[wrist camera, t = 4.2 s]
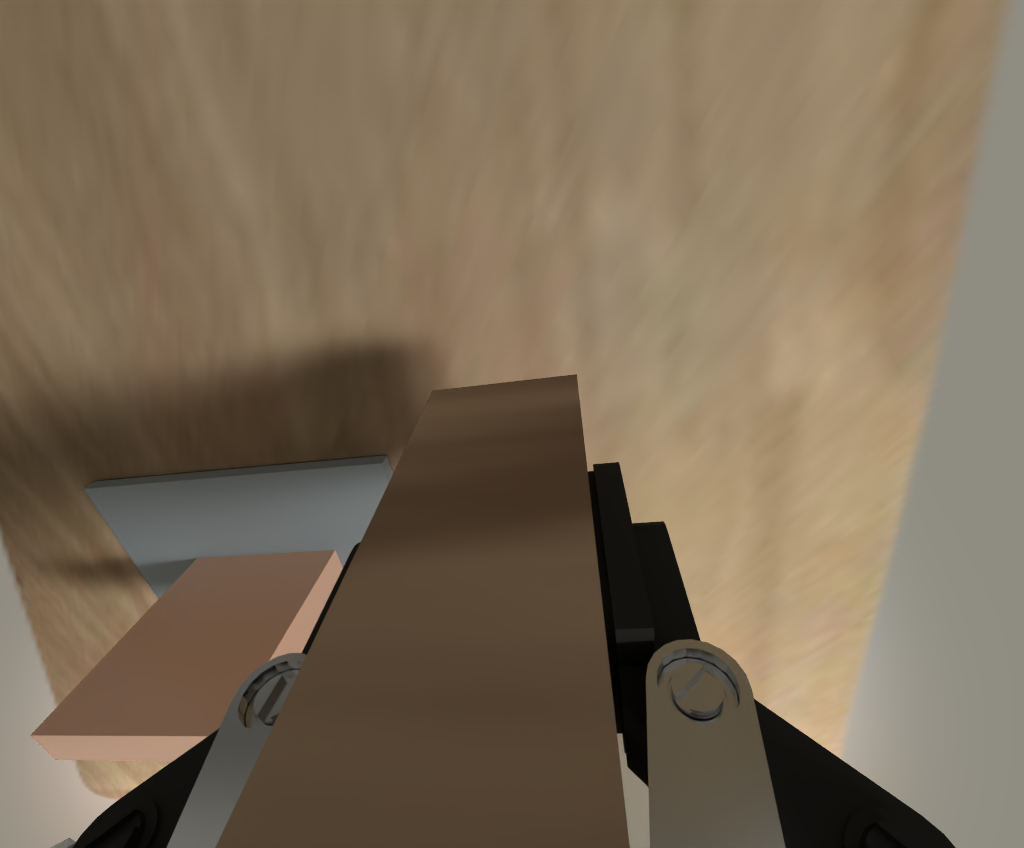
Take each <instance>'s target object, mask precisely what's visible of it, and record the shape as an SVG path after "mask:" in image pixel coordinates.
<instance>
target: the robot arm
mask: <svg viewBox="0 0 1024 848" xmlns="http://www.w3.org/2000/svg"><path fill="white" fill-rule="evenodd" d="M593 468H594V471H589V472H588V480H589V489H590V498H591V507H592V516H593V525H594V534H595V543H596V552H597V560H598V569H599V578H600V587H601V596H602V605H603V614H604V623H605V632H606V640H607V649H608V658H609V667H610V676H611V685H612V694H613V703H614V712H615V720H616V729H617V734H622V736H623V745H624V753H626V759H627V767H628V768H629V769H630V770H631V771H632V772H633V773H634V774H635V775H636V776H637V777H638V778H639V779H640V780H641V781H642V782H643V783H644V784H645V785H646V786H647V787H649V828H650V848H955V847H954V845H953V844H952V843H951V842H950V841H949V839H948V838H947V837H946V836H945V835H944V834H943V833H942V832H941V831H939V830H938V829H937V828H936V827H935V826H934V825H932V824H931V823H930V822H929V821H928V820H926V819H925V818H924V817H923V816H921V815H920V814H919V813H917V812H916V811H914V810H913V809H912V808H910V807H909V806H907V805H906V804H904V803H903V802H901V801H900V800H898V799H897V798H896V797H894V796H893V795H891V794H890V793H889V792H887V791H886V790H884V789H883V788H881V787H880V786H878V785H877V784H875V783H874V782H873V781H871V780H870V779H868V778H867V777H866V776H864V775H863V774H861V773H860V772H858V771H857V770H855V769H854V768H853V767H851V766H850V765H848V764H847V763H845V762H844V761H843V760H841V759H840V758H838V757H837V756H835V755H834V754H832V753H831V752H830V751H828V750H827V749H825V748H824V747H822V746H821V745H820V744H818V743H817V742H815V741H814V740H812V739H811V738H809V737H808V736H807V735H805V734H804V733H802V732H801V731H799V730H798V729H797V728H795V727H794V726H792V725H791V724H789V723H788V722H786V721H785V720H784V719H782V718H781V717H779V716H778V715H776V714H775V713H774V712H772V711H771V710H769V709H768V708H766V707H765V706H763V705H762V704H761V703H759V702H758V701H756V700H755V699H754V697H753V693H752V689H751V686H750V684H749V681H748V678H747V676H746V674H745V672H744V671H743V670H742V668H741V667H740V666H739V664H738V663H737V662H736V661H735V660H734V659H733V658H732V657H731V656H729V655H728V654H727V653H726V652H724V651H723V650H722V649H720V648H718V647H715V646H713V645H711V644H709V643H707V642H702V641H700V638H699V634H698V631H697V628H696V624H695V621H694V618H693V614H692V611H691V608H690V604H689V601H688V598H687V594H686V591H685V588H684V584H683V581H682V578H681V574H680V571H679V568H678V564H677V561H676V558H675V554H674V551H673V548H672V544H671V541H670V538H669V534H668V531H667V528H666V525H665V523H664V522H648V523H633V524H632V521H631V516H630V512H629V507H628V502H627V498H626V493H625V488H624V483H623V479H622V474H621V469H620V465H619V462H616V463H604V464H593ZM359 545H360V542H359V543H357V544H356V545H355V546H354V548H353V549H352V551H351V553H350V555H349V557H348V559H347V561H346V563H345V565H344V567H343V569H342V571H341V573H340V575H339V577H338V579H337V581H336V583H335V585H334V587H333V590H332V592H331V594H330V596H329V598H328V600H327V602H326V604H325V606H324V608H323V610H322V612H321V614H320V616H319V618H318V620H317V622H316V624H315V626H314V628H313V630H312V633H311V635H310V637H309V639H308V641H307V643H306V645H305V647H304V649H303V651H302V653H288V654H285V655H281V656H278V657H276V658H274V659H272V660H270V661H268V662H266V663H265V664H263V665H262V666H260V667H259V668H258V669H257V670H255V671H254V672H253V673H252V674H250V676H249V677H248V678H247V679H246V680H245V681H244V682H243V684H242V685H241V686H240V687H239V689H238V691H237V692H236V694H235V696H234V698H233V699H232V701H231V704H230V706H229V708H228V710H227V713H226V715H225V717H224V719H223V722H222V724H221V726H220V728H219V729H217V730H216V731H215V732H213V733H212V734H210V735H209V736H208V737H206V738H205V739H203V740H202V741H201V742H199V743H198V744H196V745H195V746H194V747H192V748H191V749H189V750H188V751H187V752H185V753H184V754H182V755H181V756H180V757H178V758H177V759H175V760H174V761H173V762H171V763H170V764H168V765H167V766H166V767H164V768H163V769H161V770H160V771H159V772H157V773H156V774H154V775H153V776H152V777H150V778H149V779H147V780H146V781H145V782H143V783H142V784H140V785H139V786H138V787H136V788H135V789H133V790H132V791H131V792H129V793H128V794H126V795H125V796H124V797H122V798H121V799H119V800H118V801H117V802H115V803H114V804H113V805H111V806H110V807H109V808H108V809H107V810H105V811H104V812H103V813H102V814H101V815H99V816H98V817H97V818H96V819H95V820H94V821H93V822H92V824H91V825H90V826H89V827H88V828H87V829H86V830H85V831H84V832H83V834H82V835H81V836H80V837H79V839H78V840H77V842H75V841H73V840H72V839H71V838H68V839H66V840H64V841H62V842H61V843H59V844H57V845H55V846H53V847H51V848H215V847H216V845H217V843H218V841H219V839H220V837H221V834H222V832H223V830H224V828H225V826H226V824H227V822H228V820H229V818H230V816H231V813H232V811H233V809H234V807H235V805H236V803H237V801H238V799H239V797H240V795H241V792H242V790H243V788H244V786H245V784H246V782H247V780H248V778H249V776H250V773H251V771H252V769H253V767H254V765H255V763H256V761H257V759H258V757H259V755H260V752H261V750H262V748H263V746H264V744H265V742H266V740H267V738H268V736H269V734H270V731H271V729H272V727H273V725H274V723H275V721H276V719H277V717H278V715H279V713H280V710H281V708H282V706H283V704H284V702H285V700H286V698H287V696H288V694H289V692H290V689H291V687H292V685H293V683H294V681H295V679H296V677H297V675H298V673H299V671H300V668H301V666H302V664H303V662H304V660H305V658H306V656H307V654H308V652H309V650H310V647H311V645H312V643H313V641H314V639H315V637H316V635H317V633H318V631H319V629H320V626H321V624H322V622H323V620H324V618H325V616H326V614H327V612H328V610H329V608H330V605H331V603H332V601H333V599H334V597H335V595H336V593H337V591H338V589H339V587H340V584H341V582H342V580H343V578H344V576H345V574H346V572H347V570H348V568H349V566H350V563H351V561H352V559H353V557H354V555H355V553H356V551H357V549H358V547H359Z"/></svg>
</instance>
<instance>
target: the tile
mask: <svg viewBox="0 0 1024 848" xmlns="http://www.w3.org/2000/svg"><path fill="white" fill-rule="evenodd" d="M342 569H343V567H342V565H341V563H340V560H339V558H338V556H337V553H336V551H335V550H328V551H311V552H294V553H276V554H259V555H242V556H225V557H208V558H197V559H196V560H195V561H194V562H193V563H192V564H191V565H190V567H189V568H188V569H187V570H186V571H185V572H184V573H183V574H182V575H181V576H180V577H179V578H178V579H177V580H176V581H175V582H174V584H173V585H172V586H171V587H170V588H169V589H168V590H167V591H166V592H165V593H164V594H163V595H162V596H161V597H160V598H159V599H158V600H157V602H156V603H155V604H154V605H153V606H152V607H151V608H150V609H149V610H148V611H147V612H146V613H145V614H144V615H143V616H142V617H141V619H140V620H139V621H138V622H137V623H136V624H135V625H134V626H133V627H132V628H131V629H130V630H129V631H128V632H127V633H126V634H125V636H124V637H123V638H122V639H121V640H120V641H119V642H118V643H117V644H116V645H115V646H114V647H113V648H112V649H111V650H110V651H109V652H108V654H107V655H106V656H105V657H104V658H103V659H102V660H101V661H100V662H99V663H98V664H97V665H96V666H95V667H94V668H93V669H92V671H91V672H90V673H89V674H88V675H87V676H86V677H85V678H84V679H83V680H82V681H81V682H80V683H79V684H78V685H77V686H76V688H75V689H74V690H73V691H72V692H71V693H70V694H69V695H68V696H67V697H66V698H65V699H64V700H63V701H62V702H61V703H60V705H59V706H58V707H57V708H56V709H55V710H54V711H53V712H52V713H51V714H50V715H49V716H48V717H47V718H46V719H45V720H44V722H43V723H42V724H41V725H40V726H39V727H38V728H37V729H36V730H35V731H34V732H33V733H32V734H31V737H32V738H34V739H35V740H36V741H37V742H38V743H39V744H40V745H41V746H42V747H43V748H44V749H45V750H46V751H47V752H48V753H49V754H50V755H51V756H52V757H53V758H54V759H56V760H111V761H174V760H175V759H177V758H178V757H180V756H181V755H182V754H184V753H185V752H187V751H188V750H189V749H191V748H192V747H194V746H195V745H196V744H198V743H199V742H201V741H202V740H203V739H205V738H206V737H208V736H209V735H210V734H212V733H213V732H215V731H216V730H217V729H219V728H220V726H221V724H222V722H223V719H224V717H225V715H226V713H227V710H228V708H229V706H230V704H231V701H232V699H233V698H234V696H235V694H236V692H237V691H238V689H239V687H240V686H241V685H242V684H243V682H244V681H245V680H246V679H247V678H248V677H249V676H250V674H252V673H253V672H254V671H255V670H257V669H258V668H259V667H260V666H262V665H263V664H265V663H266V662H268V661H270V660H272V659H274V658H276V657H278V656H281V655H285V654H288V653H302V651H303V649H304V647H305V645H306V643H307V641H308V639H309V637H310V635H311V633H312V630H313V628H314V626H315V624H316V622H317V620H318V618H319V616H320V614H321V612H322V610H323V608H324V606H325V604H326V602H327V600H328V598H329V596H330V594H331V592H332V590H333V587H334V585H335V583H336V581H337V579H338V577H339V575H340V573H341V571H342Z"/></svg>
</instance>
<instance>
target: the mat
mask: <svg viewBox="0 0 1024 848" xmlns="http://www.w3.org/2000/svg"><path fill="white" fill-rule="evenodd" d="M392 475H393V472H392V469H391V466H390V463H389V460H388V456H387V455H384V456H373V457H362V458H351V459H340V460H328V461H317V462H306V463H295V464H283V465H272V466H261V467H250V468H239V469H227V470H216V471H205V472H194V473H182V474H171V475H160V476H149V477H138V478H126V479H115V480H104V481H95V482H93V483H92V484H90V485H89V486H87V487H86V488H84V491H85V492H86V494H87V495H88V497H89V498H90V500H91V501H92V502H93V504H94V505H95V507H96V508H97V510H98V511H99V513H100V514H101V516H102V517H103V519H104V520H105V521H106V523H107V524H108V526H109V527H110V529H111V530H112V532H113V533H114V535H115V536H116V538H117V539H118V540H119V542H120V543H121V545H122V546H123V548H124V549H125V551H126V552H127V554H128V555H129V556H130V558H131V559H132V561H133V562H134V564H135V565H136V567H137V568H138V570H139V571H140V573H141V574H142V575H143V577H144V578H145V580H146V581H147V583H148V584H149V586H150V587H151V589H152V590H153V592H154V593H155V594H156V596H157V597H158V599H159V598H160V597H161V596H162V595H163V594H164V593H165V592H166V591H167V590H168V589H169V588H170V587H171V586H172V585H173V584H174V582H175V581H176V580H177V579H178V578H179V577H180V576H181V575H182V574H183V573H184V572H185V571H186V570H187V569H188V568H189V567H190V565H191V564H192V563H193V562H194V561H195V560H196V559H197V558H208V557H225V556H242V555H259V554H276V553H294V552H311V551H328V550H335V551H336V553H337V556H338V558H339V560H340V563H341V565H342V567H344V565H345V563H346V561H347V559H348V557H349V555H350V553H351V551H352V549H353V548H354V546H355V545H356V544H357V543H359V542H361V540H362V538H363V536H364V534H365V532H366V530H367V528H368V526H369V524H370V521H371V519H372V517H373V515H374V513H375V511H376V509H377V507H378V505H379V503H380V500H381V498H382V496H383V494H384V492H385V490H386V488H387V486H388V484H389V482H390V479H391V477H392Z"/></svg>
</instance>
